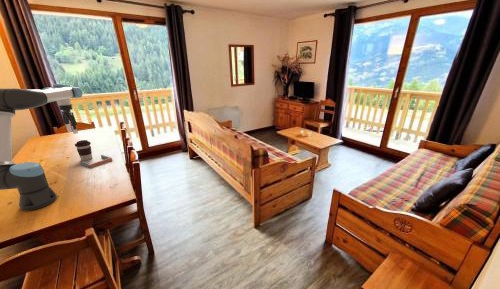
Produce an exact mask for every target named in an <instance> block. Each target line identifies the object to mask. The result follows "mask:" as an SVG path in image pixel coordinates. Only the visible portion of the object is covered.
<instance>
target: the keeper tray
mask: <svg viewBox="0 0 500 289" xmlns="http://www.w3.org/2000/svg"><path fill="white" fill-rule="evenodd" d="M100 156H101V158H102V160H99V161H95V162H93V163H88V162H86V161H84V160H80V161H79V163H80V165H82V166H85V167H87V168H90V169H92V168H95V167H97V166H100V165H103V164H106V163H109V162H112V161H113V158H112V157H111V156H108V155H104V154H100Z"/></svg>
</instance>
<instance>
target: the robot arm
mask: <svg viewBox="0 0 500 289" xmlns="http://www.w3.org/2000/svg"><path fill="white" fill-rule="evenodd" d="M82 97H83V90H82V89H81V88H80V87H78V86H67V85H66V84H65V83H54V84H52V87H43V88H42V89H38V88H37V89H36V88H34V89H31V88H30V89H28V88H0V191H3V190H5V191H6V190H14V189H17V192H18V193H19V200H18V207H19V209H20V210H21V211H24V212H27V211H33V210H38V209H41V208H43V207H46V206H49V205H51V204H53V203H54V202H56V200H57V199H58V196H57V193H56V192H55V191H54V190H53V189H52V187H50V185H49V183H48V179H47V177H46V173H45V169H44V168H43V166H42V164H41V163H39V162H34V161H27V162H20V163H16V162H14V161H13V158H12V157H13V156H12V151H13V150H12V148H13V147H12V145H13V144H12V139H13V138H12V118H13V117H14V116H16V111H24V110H29V109H33V108H38V107H43V106H45V105H47V104H49V103H54V102H57V104H58V108H59V111H61V115H62V121H63V124H64V125H65V128H66V130H67V133H72V132H73V135H76V134H78V133H79V132H78V128H77V125H78V123H77V120H76V118H75V114H74V111H71V110H73V105H72V104H71V103H72V102H71V101H72V100H71V99H77V98H82Z"/></svg>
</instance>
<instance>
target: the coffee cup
mask: <svg viewBox="0 0 500 289" xmlns="http://www.w3.org/2000/svg"><path fill="white" fill-rule="evenodd" d="M91 144H92V143H91V141H88V139H82V140H78V141H76V143H74V147H76V150H77V153H78V156H79V158H80V161H89V160H91V159H92V158H93V154H92V153H93V152H92V146H91Z"/></svg>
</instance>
